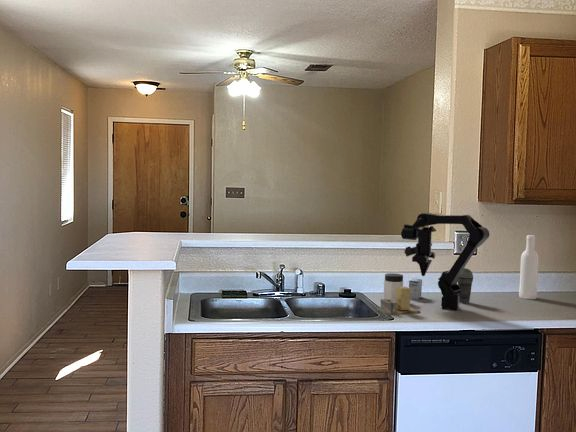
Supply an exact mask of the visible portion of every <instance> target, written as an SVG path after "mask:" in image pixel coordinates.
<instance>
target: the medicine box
mask: <svg viewBox="0 0 576 432" xmlns="http://www.w3.org/2000/svg"><path fill="white" fill-rule="evenodd" d="M408 288H411V291H410V300H416V301H418V300H420V298H421V297H422V290H423V289H422V288H423V279H422V278H417V277H415V278H411V279H410V280H408Z"/></svg>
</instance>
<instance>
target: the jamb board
mask: <svg viewBox="0 0 576 432" xmlns="http://www.w3.org/2000/svg"><path fill="white" fill-rule="evenodd" d="M397 304H398V303H397V302H391V300H390V299H384V298H381V299H380V306H379V307H380V309H379V311H380V312H383V313H385V314H387V315H389V316H390V315H406V314H420V313H421V310H419V309H417V308H415V307H412V306H410V310H399V309H398V310H397Z"/></svg>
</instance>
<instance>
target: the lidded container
mask: <svg viewBox="0 0 576 432" xmlns="http://www.w3.org/2000/svg"><path fill="white" fill-rule="evenodd" d="M383 282H384V283H383V300H384V299H390V300H391V302H395V300H396V287H404V275H403V274H401V273H391V272H390V273H385V274H384V281H383Z"/></svg>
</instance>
